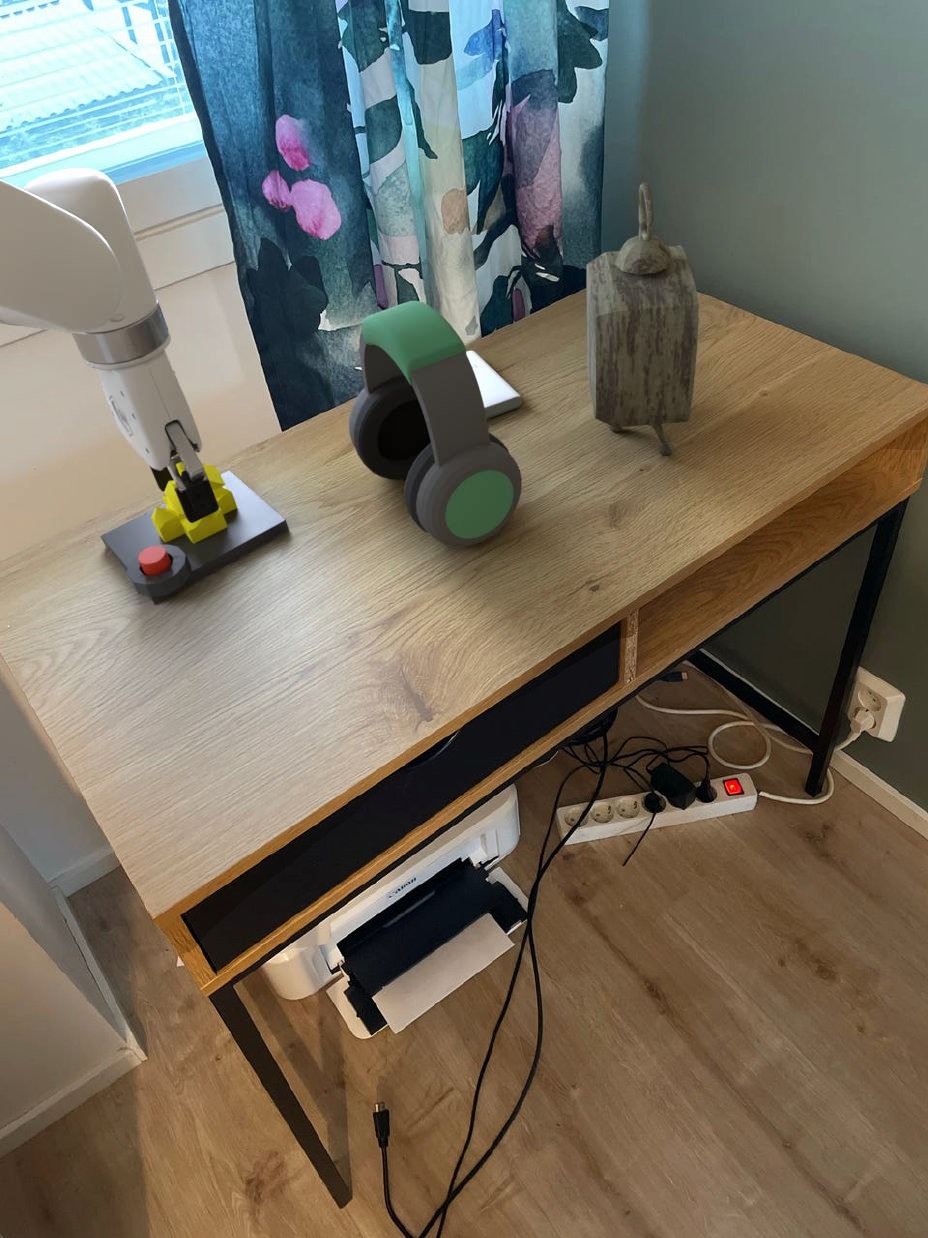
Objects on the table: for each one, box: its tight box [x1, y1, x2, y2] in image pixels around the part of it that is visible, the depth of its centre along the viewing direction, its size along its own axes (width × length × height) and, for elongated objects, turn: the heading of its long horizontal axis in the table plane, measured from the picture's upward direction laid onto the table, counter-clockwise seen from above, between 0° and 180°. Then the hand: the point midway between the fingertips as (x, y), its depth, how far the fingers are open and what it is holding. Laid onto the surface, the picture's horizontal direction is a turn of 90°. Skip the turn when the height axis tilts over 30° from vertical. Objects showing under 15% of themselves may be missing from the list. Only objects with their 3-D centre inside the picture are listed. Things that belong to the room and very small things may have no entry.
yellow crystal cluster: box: [151, 462, 237, 544], centre depth 88 cm, size 6×8×8 cm
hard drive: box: [466, 350, 523, 420], centre depth 104 cm, size 2×8×12 cm
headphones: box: [348, 300, 523, 547], centre depth 84 cm, size 19×11×20 cm, turn 29°
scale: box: [100, 470, 290, 605], centre depth 89 cm, size 16×13×3 cm
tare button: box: [138, 546, 171, 576], centre depth 84 cm, size 3×3×2 cm
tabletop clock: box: [585, 181, 699, 457], centre depth 87 cm, size 14×9×25 cm, turn 179°
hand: (188, 498), depth 88 cm, fingers closed on yellow crystal cluster, 6 cm apart
